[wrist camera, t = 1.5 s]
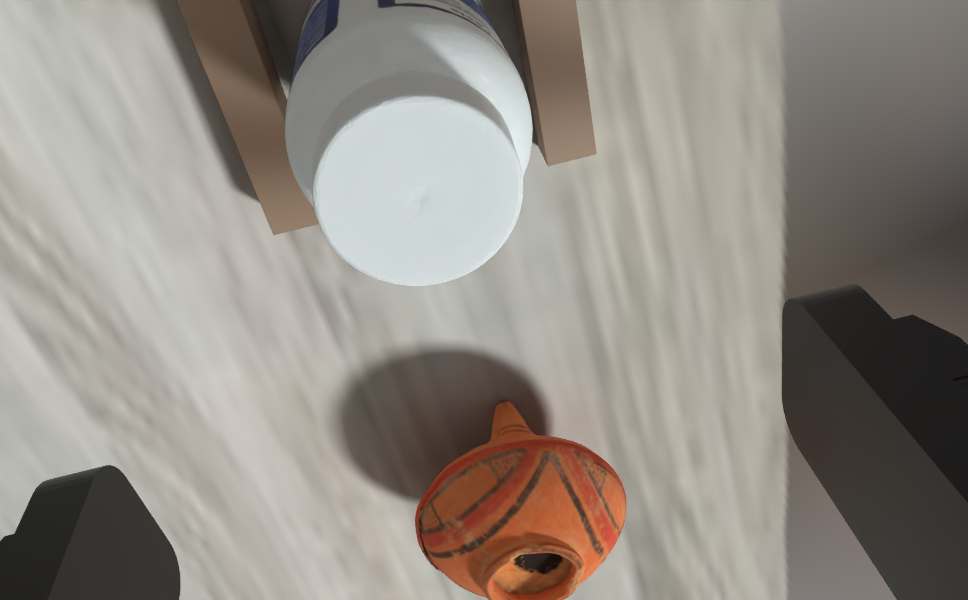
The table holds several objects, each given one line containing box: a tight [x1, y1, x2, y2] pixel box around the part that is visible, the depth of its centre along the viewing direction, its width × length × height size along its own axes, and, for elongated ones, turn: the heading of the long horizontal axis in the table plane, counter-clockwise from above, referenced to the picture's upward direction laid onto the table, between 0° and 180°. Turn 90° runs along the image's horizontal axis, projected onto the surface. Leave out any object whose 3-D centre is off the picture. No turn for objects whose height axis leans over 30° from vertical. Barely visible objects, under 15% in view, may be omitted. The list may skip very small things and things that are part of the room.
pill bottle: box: [285, 0, 533, 286], centre depth 19 cm, size 5×5×10 cm
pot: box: [415, 401, 626, 600], centre depth 30 cm, size 8×8×7 cm
